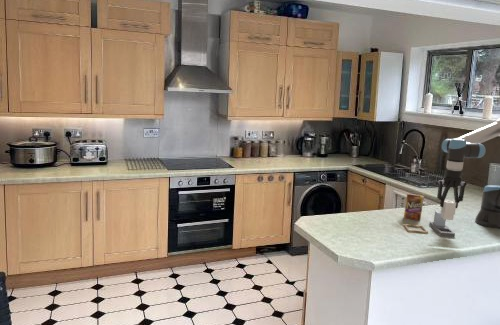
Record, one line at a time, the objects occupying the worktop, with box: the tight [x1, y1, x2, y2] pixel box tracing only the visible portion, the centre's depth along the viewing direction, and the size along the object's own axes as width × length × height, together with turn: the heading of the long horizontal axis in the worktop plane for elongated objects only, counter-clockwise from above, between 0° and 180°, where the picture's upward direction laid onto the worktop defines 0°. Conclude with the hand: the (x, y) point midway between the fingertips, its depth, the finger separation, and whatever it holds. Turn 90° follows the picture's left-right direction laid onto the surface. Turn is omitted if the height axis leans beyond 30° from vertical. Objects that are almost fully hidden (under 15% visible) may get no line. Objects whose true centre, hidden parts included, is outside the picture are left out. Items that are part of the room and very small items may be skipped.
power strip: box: [428, 221, 456, 238], centre depth 225 cm, size 25×7×4 cm, turn 174°
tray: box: [402, 223, 429, 235], centre depth 221 cm, size 10×10×2 cm
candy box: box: [403, 192, 425, 222], centre depth 240 cm, size 9×4×15 cm, turn 60°
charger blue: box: [432, 210, 446, 227], centre depth 225 cm, size 4×4×9 cm
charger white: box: [441, 199, 456, 221], centre depth 215 cm, size 4×4×9 cm
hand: (447, 213), depth 215 cm, fingers closed on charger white, 4 cm apart
